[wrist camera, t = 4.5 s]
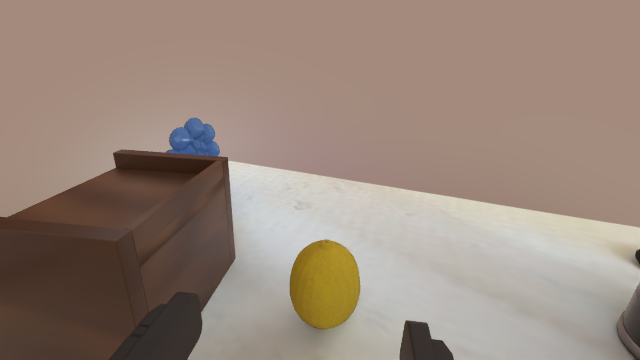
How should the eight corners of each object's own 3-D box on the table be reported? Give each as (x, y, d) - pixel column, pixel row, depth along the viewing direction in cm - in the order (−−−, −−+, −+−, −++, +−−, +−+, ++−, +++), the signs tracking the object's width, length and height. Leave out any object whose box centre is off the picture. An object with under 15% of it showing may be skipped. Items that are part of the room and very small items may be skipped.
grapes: (197, 181, 55) (189, 110, 50) (232, 187, 53) (226, 113, 49) (143, 210, 45) (127, 124, 40) (184, 218, 43) (172, 129, 38)
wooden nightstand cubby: (141, 248, 36) (121, 149, 32) (235, 258, 35) (227, 157, 31) (2, 368, 22) (-66, 222, 18) (150, 392, 21) (115, 241, 17)
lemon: (277, 316, 27) (275, 235, 24) (329, 291, 30) (332, 216, 28) (315, 365, 23) (318, 274, 20) (370, 330, 26) (379, 247, 23)
